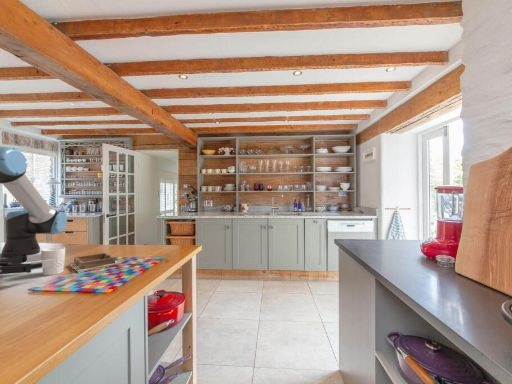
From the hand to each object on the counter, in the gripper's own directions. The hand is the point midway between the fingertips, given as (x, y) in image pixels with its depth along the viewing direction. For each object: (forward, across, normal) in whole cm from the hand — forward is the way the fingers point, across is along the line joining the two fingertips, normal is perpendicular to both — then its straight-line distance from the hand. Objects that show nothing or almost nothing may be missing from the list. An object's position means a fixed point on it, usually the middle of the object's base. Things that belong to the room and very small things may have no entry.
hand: (50, 259), depth 105 cm
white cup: (+1, 0, -6) cm, 6 cm away
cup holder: (+16, -1, -6) cm, 17 cm away
